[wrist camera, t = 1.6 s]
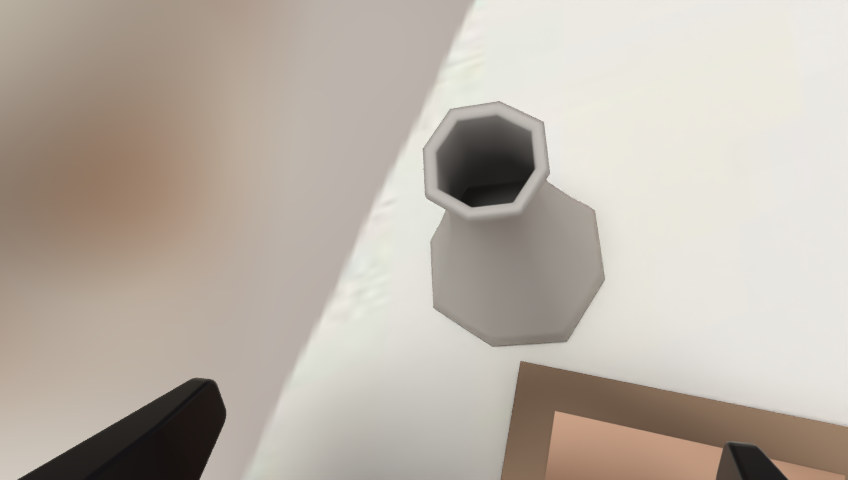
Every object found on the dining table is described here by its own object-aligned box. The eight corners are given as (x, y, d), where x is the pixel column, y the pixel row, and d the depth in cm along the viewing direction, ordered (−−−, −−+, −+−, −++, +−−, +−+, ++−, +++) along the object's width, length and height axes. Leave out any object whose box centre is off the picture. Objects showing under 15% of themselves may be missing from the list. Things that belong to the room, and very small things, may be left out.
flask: (621, 196, 22) (666, 45, 13) (585, 371, 21) (608, 340, 12) (453, 167, 25) (389, 20, 15) (408, 324, 23) (307, 266, 14)
